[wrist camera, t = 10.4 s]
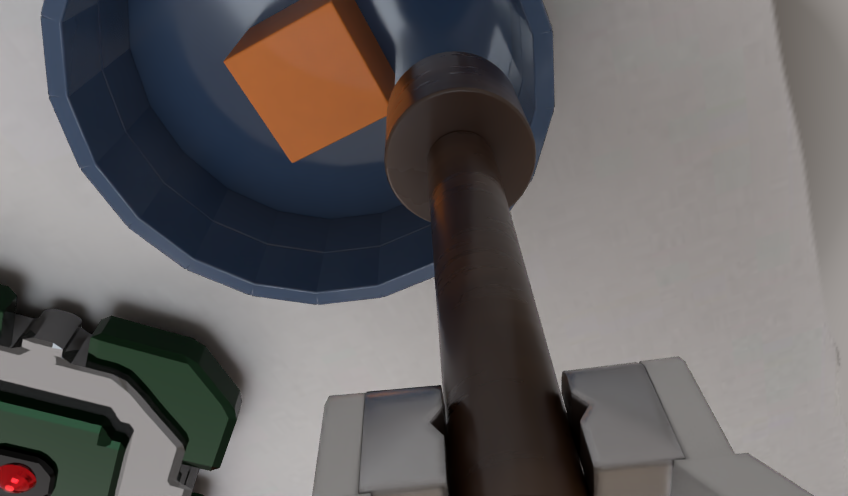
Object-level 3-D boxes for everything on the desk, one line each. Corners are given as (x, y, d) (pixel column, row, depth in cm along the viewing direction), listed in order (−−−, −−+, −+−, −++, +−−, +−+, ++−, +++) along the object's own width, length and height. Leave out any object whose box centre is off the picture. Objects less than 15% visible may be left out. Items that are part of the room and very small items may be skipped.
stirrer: (514, 41, 17) (813, 610, 5) (521, 167, 19) (749, 817, 7) (376, 60, 18) (307, 660, 5) (396, 183, 20) (386, 847, 7)
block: (341, -24, 24) (331, 0, 20) (395, 75, 26) (394, 112, 22) (247, 29, 25) (222, 61, 21) (306, 121, 27) (291, 164, 23)
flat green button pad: (189, 550, 42) (167, 625, 38) (-133, 483, 38) (-194, 558, 34) (264, 338, 33) (245, 406, 29) (-143, 224, 29) (-228, 284, 25)
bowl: (513, -223, 21) (546, -239, 16) (532, 200, 29) (559, 278, 24) (48, -154, 22) (-59, -148, 17) (190, 241, 30) (146, 325, 25)
